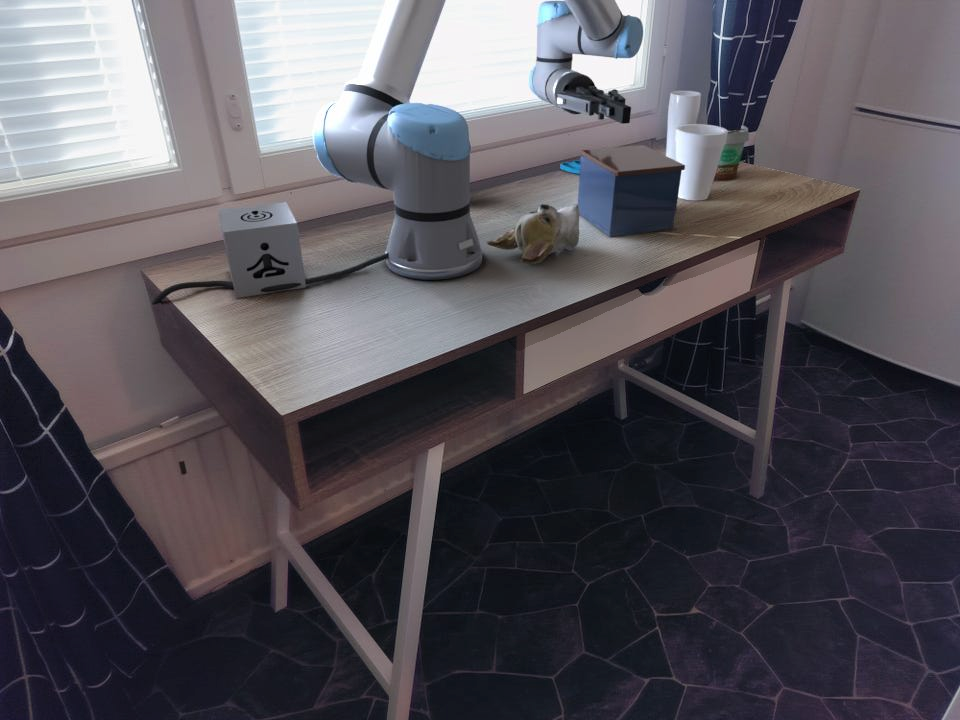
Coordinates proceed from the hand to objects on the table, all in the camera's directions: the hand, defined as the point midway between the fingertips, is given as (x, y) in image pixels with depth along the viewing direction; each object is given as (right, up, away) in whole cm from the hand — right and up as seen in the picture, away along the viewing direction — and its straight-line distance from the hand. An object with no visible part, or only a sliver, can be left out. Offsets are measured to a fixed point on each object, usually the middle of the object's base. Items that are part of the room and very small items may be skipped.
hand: (626, 115), depth 124 cm
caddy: (+1, -17, +7) cm, 18 cm away
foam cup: (+17, -10, +20) cm, 28 cm away
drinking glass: (+20, +4, +42) cm, 47 cm away
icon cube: (-58, -30, -15) cm, 67 cm away
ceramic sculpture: (-16, -25, -7) cm, 31 cm away
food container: (+27, -3, +30) cm, 41 cm away
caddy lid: (+1, -8, +1) cm, 8 cm away
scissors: (0, -3, +31) cm, 31 cm away
